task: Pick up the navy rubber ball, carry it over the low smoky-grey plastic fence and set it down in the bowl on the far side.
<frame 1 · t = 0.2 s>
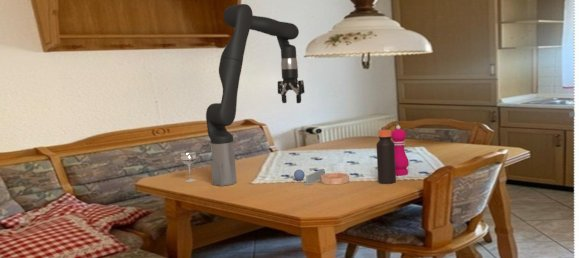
hand: (291, 103, 265), 29 cm above the table, tool pointing down, fingers open, 8 cm apart
ball: (299, 180, 233), on the table
fence: (316, 180, 230), on the table
wineglass: (190, 181, 246), on the table
bottle: (387, 182, 219), on the table
bowl: (334, 181, 226), on the table
pepper mill: (400, 174, 232), on the table
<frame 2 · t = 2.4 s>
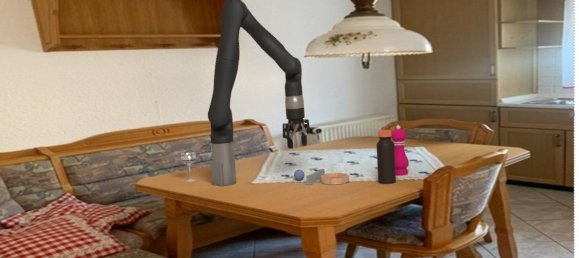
hand: (297, 146, 231), 14 cm above the table, tool pointing down, fingers open, 8 cm apart
nothing on the table moved.
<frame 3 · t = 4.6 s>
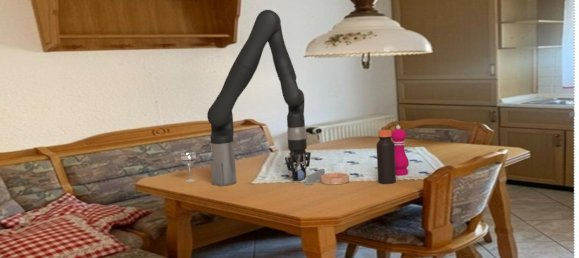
hand: (299, 179, 233), 1 cm above the table, tool pointing down, fingers closed on ball, 4 cm apart
ball: (299, 180, 233), on the table, touching gripper
everything else where it was.
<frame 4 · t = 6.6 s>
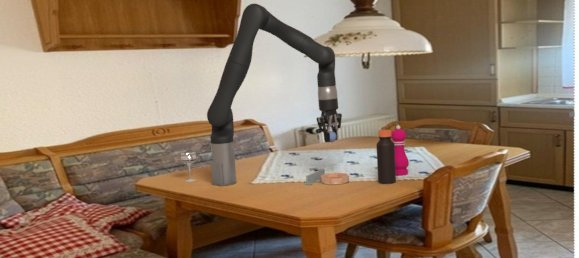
hand: (331, 140, 225), 16 cm above the table, tool pointing down, fingers closed on ball, 4 cm apart
ball: (331, 142, 225), point 16 cm above the table, touching gripper
everything else where it was.
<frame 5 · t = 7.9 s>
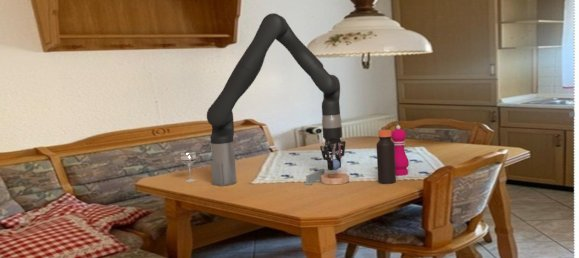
hand: (334, 168, 225), 5 cm above the table, tool pointing down, fingers closed on ball, 4 cm apart
ball: (334, 170, 225), point 5 cm above the table, touching gripper
everything else where it was.
when the fingers open (3 cm above the table, at t = 9.0 s): ball drops 1 cm, resting on bowl.
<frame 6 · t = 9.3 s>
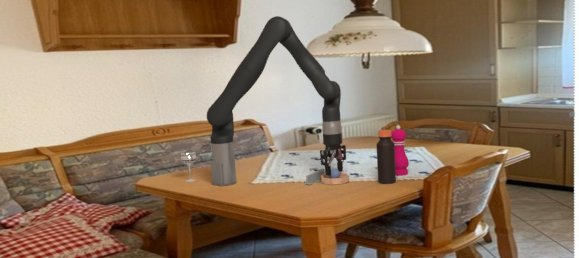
hand: (334, 173, 225), 3 cm above the table, tool pointing down, fingers open, 7 cm apart
ball: (334, 179, 226), point 1 cm above the table, touching bowl
everything else where it was.
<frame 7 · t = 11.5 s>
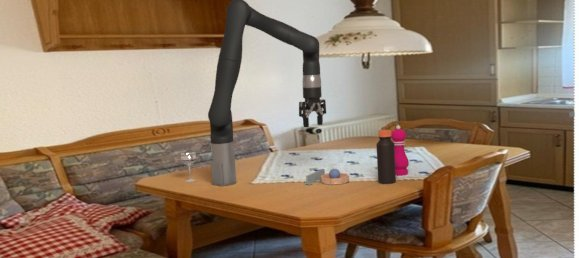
hand: (313, 126, 232), 22 cm above the table, tool pointing down, fingers open, 8 cm apart
nothing on the table moved.
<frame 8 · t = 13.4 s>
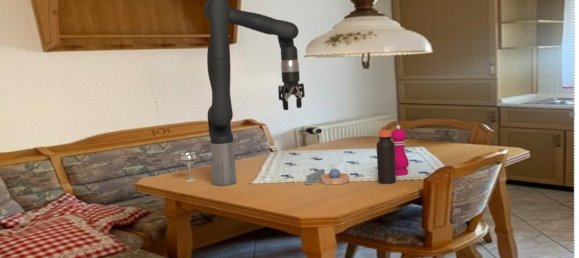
hand: (292, 108, 243), 28 cm above the table, tool pointing down, fingers open, 8 cm apart
nothing on the table moved.
at the end: ball inside the target area on the bowl (0.0 cm from its centre), point 0.8 cm above the bowl's base; the gripper is holding nothing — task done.
